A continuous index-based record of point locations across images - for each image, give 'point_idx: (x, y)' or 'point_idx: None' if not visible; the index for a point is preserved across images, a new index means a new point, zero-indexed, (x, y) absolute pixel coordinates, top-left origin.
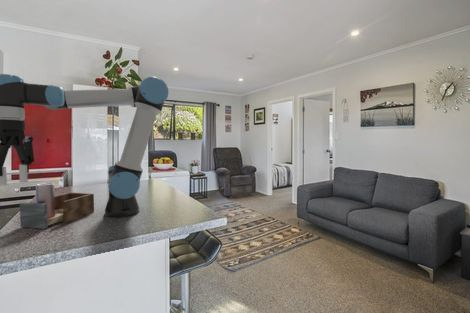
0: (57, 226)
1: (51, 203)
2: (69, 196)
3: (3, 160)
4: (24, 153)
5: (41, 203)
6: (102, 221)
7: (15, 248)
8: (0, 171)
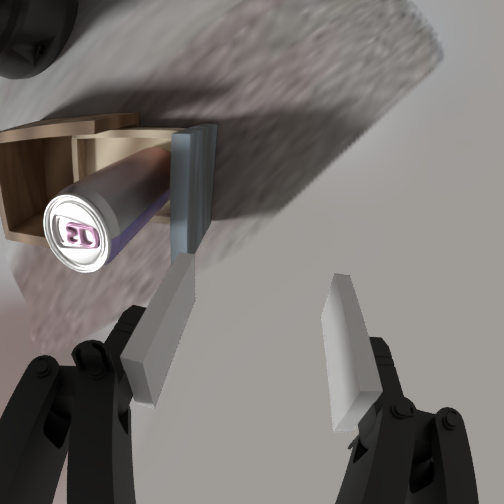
0: (180, 106)
1: (127, 160)
2: (20, 226)
3: (390, 456)
4: (88, 493)
5: (176, 159)
6: (116, 4)
7: (377, 87)
8: (382, 367)
